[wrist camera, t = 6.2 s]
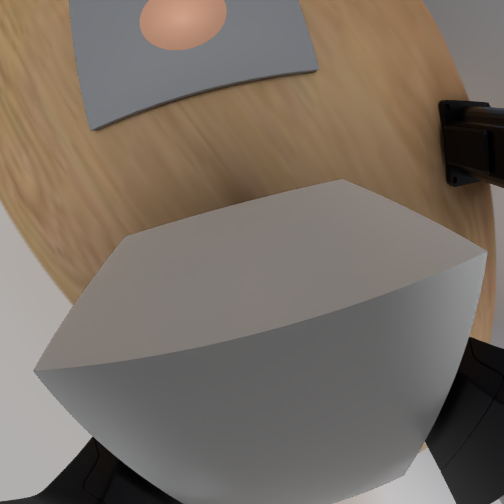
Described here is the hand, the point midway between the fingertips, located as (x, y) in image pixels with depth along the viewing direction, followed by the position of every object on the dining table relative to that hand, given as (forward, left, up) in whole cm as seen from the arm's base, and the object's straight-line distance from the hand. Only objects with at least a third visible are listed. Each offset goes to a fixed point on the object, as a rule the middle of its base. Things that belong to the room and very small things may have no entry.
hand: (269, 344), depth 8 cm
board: (0, -17, -10) cm, 20 cm away
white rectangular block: (0, 0, -1) cm, 1 cm away
